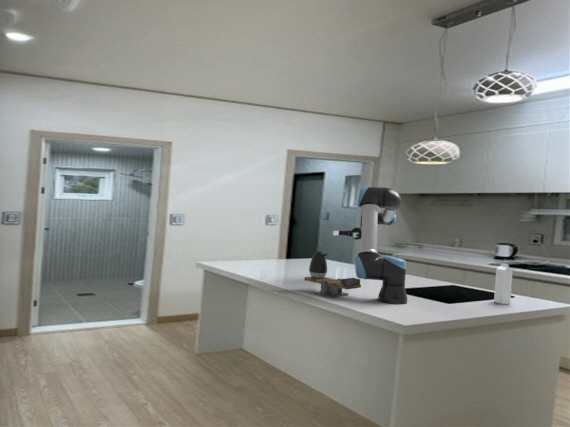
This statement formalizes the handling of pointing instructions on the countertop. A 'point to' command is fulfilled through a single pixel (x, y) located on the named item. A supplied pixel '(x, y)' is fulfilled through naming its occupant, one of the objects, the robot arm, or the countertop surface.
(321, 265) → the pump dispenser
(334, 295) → the pivot stand
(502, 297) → the milk
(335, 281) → the balance beam
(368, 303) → the countertop surface
